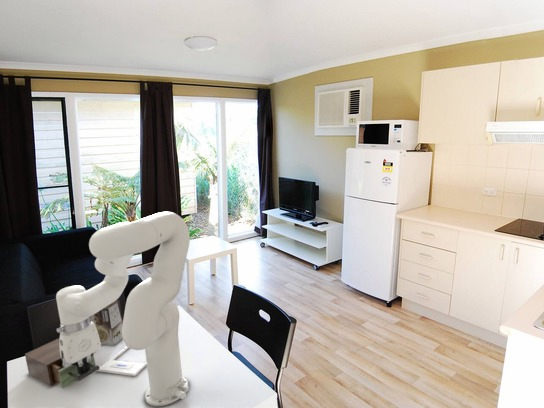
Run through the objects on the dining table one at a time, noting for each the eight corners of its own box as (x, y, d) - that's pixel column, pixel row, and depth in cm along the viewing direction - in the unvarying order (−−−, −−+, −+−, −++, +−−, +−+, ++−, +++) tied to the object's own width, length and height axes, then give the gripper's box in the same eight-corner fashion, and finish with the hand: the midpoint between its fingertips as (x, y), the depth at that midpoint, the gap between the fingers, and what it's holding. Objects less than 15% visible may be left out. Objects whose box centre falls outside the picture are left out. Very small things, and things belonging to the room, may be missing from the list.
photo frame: (97, 368, 123) (134, 339, 140) (97, 371, 123) (134, 341, 140) (134, 373, 120) (167, 342, 138) (134, 376, 121) (167, 345, 138)
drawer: (107, 374, 120) (104, 358, 119) (74, 394, 111) (71, 377, 110) (75, 359, 128) (72, 344, 127) (41, 377, 119) (38, 361, 118)
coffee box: (125, 336, 144) (120, 300, 141) (114, 345, 138) (108, 308, 135) (104, 335, 145) (99, 299, 142) (92, 344, 139) (86, 307, 135)
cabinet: (87, 365, 126) (84, 345, 124) (50, 386, 116) (46, 365, 114) (66, 355, 132) (62, 336, 130) (28, 374, 121) (24, 354, 120)
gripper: (56, 339, 104) (66, 392, 108) (107, 315, 118) (114, 363, 121) (42, 333, 108) (52, 384, 111) (93, 311, 121) (100, 357, 125)
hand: (84, 373), depth 116 cm, fingers closed
